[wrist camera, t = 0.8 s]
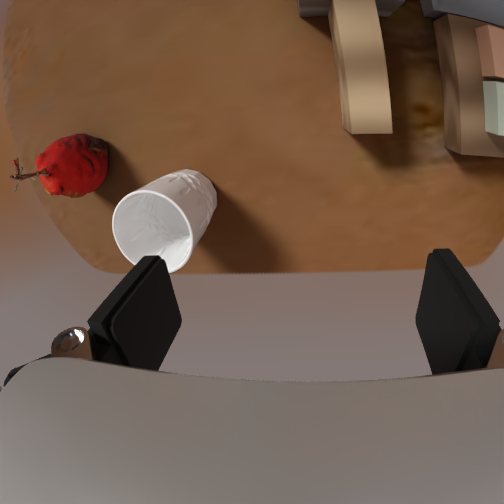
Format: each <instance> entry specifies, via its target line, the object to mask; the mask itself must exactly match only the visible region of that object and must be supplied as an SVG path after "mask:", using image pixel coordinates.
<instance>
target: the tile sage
mask: <svg viewBox="0 0 504 504" xmlns="http://www.w3.org/2000/svg"><path fill="white" fill-rule="evenodd" d="M483 90H484V105H485V131H486V132H490V133H493V134H496V135H501V136H504V83H502V82H497V81H483Z"/></svg>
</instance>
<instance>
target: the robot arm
mask: <svg viewBox="0 0 504 504" xmlns="http://www.w3.org/2000/svg"><path fill="white" fill-rule="evenodd" d="M87 322H88V324H89V326H90V329H89V330H88V331H87V330H86V329H85V328H83V327H71V328H68V329H66V330H64V331H62V332H61V333H59V334H58V335H57V336H56V337H55V338H54V340H53V342H52V345H51V354H49V355H47V356H44V357H41V358H39V359H37V360H34V361H32V362H30V363H27V364H25V365H22V366H20V367H18V368H14V369H13V370H11V371H10V372H9V374H8V376H7V378H6V380H5V382H4V388H3V389H2V387H1V386H0V504H504V329H503V330H501V328H500V326H499V322H500V320H499V319H498V317H497V316H496V314H495V312H494V311H493V309H492V308H491V306H490V305H489V303H488V301H487V300H486V298H485V297H484V296H483V294H482V292H481V291H480V289H479V288H478V287H477V285H476V284H475V282H474V281H473V279H472V278H471V277H470V275H469V274H468V272H467V271H466V270H465V268H464V267H463V266H462V264H461V263H460V262H459V260H458V259H457V258H456V256H455V255H454V254H453V252H452V251H451V250H450V249H434V250H433V252H432V253H429V255H428V258H427V264H426V269H425V275H424V280H423V285H422V290H421V295H420V300H419V304H418V309H417V313H416V326H417V329H418V332H419V335H420V337H421V340H422V343H423V346H424V349H425V352H426V355H427V358H428V362H429V365H430V368H431V371H432V375H425V376H415V377H404V378H392V379H379V380H360V381H325V382H324V381H320V382H319V381H318V382H301V381H297V382H296V381H264V380H245V379H230V378H218V377H206V376H196V375H187V374H178V373H170V372H162V371H158V370H159V367H160V366H161V364H162V362H163V360H164V358H165V356H166V354H167V352H168V350H169V348H170V346H171V344H172V342H173V340H174V338H175V336H176V334H177V332H178V330H179V328H180V326H181V322H182V319H181V314H180V311H179V307H178V304H177V301H176V297H175V294H174V290H173V287H172V283H171V279H170V276H169V272H168V268H167V265H166V261H165V260H164V259H162V258H161V257H160V256H159V255H147V256H143V257H142V258H141V259H140V261H139V262H138V263H137V264H136V265H135V266H134V267H133V268H132V269H131V271H130V272H129V273H128V274H127V275H126V276H125V277H124V278H123V280H122V281H121V282H120V283H119V284H118V285H117V286H116V287H115V289H114V290H113V291H112V292H111V293H110V294H109V296H108V297H107V298H106V299H105V300H104V301H103V303H102V304H101V305H100V306H99V307H98V309H97V310H96V311H95V312H94V313H93V315H92V316H91V317H90V318H89V319H88V321H87Z"/></svg>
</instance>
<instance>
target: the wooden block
mask: <svg viewBox="0 0 504 504" xmlns="http://www.w3.org/2000/svg"><path fill="white" fill-rule="evenodd" d="M485 25H490V26H494V27H497V28H500V29H503V30H504V28H502V27H499V26H496V25H492V24H489V23H485V22H481V21H478V20H474V19H469V18H465V17H461V16H456V15H451V14H446V15H444V16H442V17H440V18H438V19H437V20H435V21H433V26H434V32H435V37H436V43H437V49H438V56H439V64H440V72H441V81H442V92H443V106H444V127H445V148H447V149H450V150H452V151H454V152H456V153H459V154H461V155H476V156H490V157H502V158H504V136H501V135H496V134H493V133H490V132H486V131H485V105H484V90H483V81H497V82H502V83H504V81H503V80H498V79H494V78H489V77H484V76H482V70H481V62H480V54H479V48H478V42H477V36H476V31H475V28H478V27H482V26H485Z"/></svg>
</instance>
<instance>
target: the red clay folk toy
mask: <svg viewBox="0 0 504 504" xmlns="http://www.w3.org/2000/svg"><path fill="white" fill-rule="evenodd" d="M107 154H108V147H107V145H106V143H105V142H104V141H103V140H102V139H100V138H94V137H92V136H90V135H87V134H75V135H72V136H68V137H64V138H61V139H58V140H56V141H55V142H53V143H52V144H51V145H50V146H49V147H47V148H46V150H45V151H44V152H43V154H40V155H39V156H38V157H37V159H36V163H35V165H36V166H37V168H36V171H37V172H34V173H32V174H24V175H22V174H21V173H22V169H23V167H21V170H20V169H19V163H18V158H15V159H14V160H12V161H11V163H12V164H14V165H15V168H16V172H17V174H16V175H15V177H14V176H13V175H11V176H10V178H11V179H14V180H16V181H17V185H16V188H15V190H14V191H16V189H17V186H18V183H19V182H20V181H21V180H24V179H27V178H30V177H32V179H34V180H35V179H37V178H38V177H39V178H40V180H41V182H42V184H43V186H44V188H45V190H46V191H47V193H49V194H50V195H53V194H54V195H64V196H69V197H71V198H75V197H76V198H78V197H82V196H84V195H86V194H87V193H90V192H92V191H94V190H96V189H97V188H98V187H99V186H100V185H101V184H102V183H103V181H104V180H105V177H106V174H107V171H108V155H107Z"/></svg>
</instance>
